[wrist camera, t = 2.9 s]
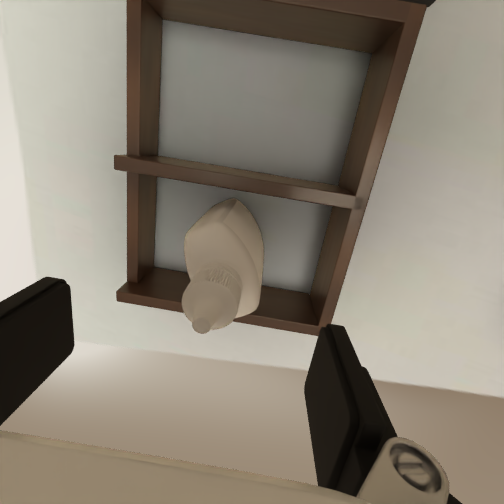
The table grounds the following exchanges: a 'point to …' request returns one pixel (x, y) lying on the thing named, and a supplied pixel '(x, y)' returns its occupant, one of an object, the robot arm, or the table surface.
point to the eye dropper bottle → (222, 266)
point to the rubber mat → (421, 1)
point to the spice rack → (340, 197)
